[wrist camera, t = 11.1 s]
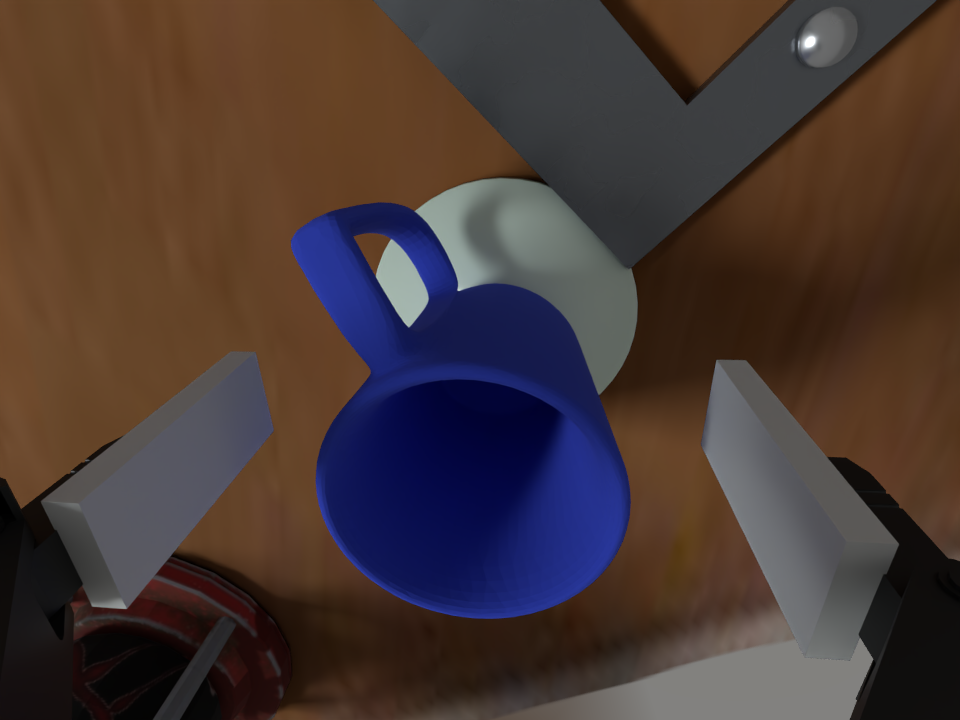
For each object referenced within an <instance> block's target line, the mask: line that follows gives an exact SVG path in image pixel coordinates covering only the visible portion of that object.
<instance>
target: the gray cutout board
mask: <svg viewBox="0 0 960 720" xmlns="http://www.w3.org/2000/svg"><path fill="white" fill-rule="evenodd" d="M373 1H374V2H375V3H376V4H377V5H378V6H379V7H380V8H381V9H382V10H383V11H384V12H385V13H386V14H387V15H388V16H389V17H390V19H391V20H392V21H393V22H394V23H395V24H396V25H397V26H398V27H399V28H400V29H401V30H402V31H403V32H404V33H405V34H406V35H407V36H408V37H409V39H410V40H411V41H412V42H413V43H414V44H415V45H416V46H417V47H418V48H419V49H420V50H421V51H422V52H423V53H424V54H425V55H426V56H427V58H428V59H429V60H430V61H431V62H432V63H433V64H434V65H435V66H436V67H437V68H438V69H439V70H440V71H441V72H442V73H443V74H444V75H445V76H446V78H447V79H448V80H449V81H450V82H451V83H452V84H453V85H454V86H455V87H456V88H457V89H458V90H459V91H460V92H461V93H462V94H463V95H464V97H465V98H466V99H467V100H468V101H469V102H470V103H471V104H472V105H473V106H474V107H475V108H476V109H477V110H478V111H479V112H480V113H481V114H482V115H483V117H484V118H485V119H486V120H487V121H488V122H489V123H490V124H491V125H492V126H493V127H494V128H495V129H496V130H497V131H498V132H499V133H500V134H501V135H502V137H503V138H504V139H505V140H506V141H507V142H508V143H509V144H510V145H511V146H512V147H513V148H514V149H515V150H516V151H517V152H518V153H519V154H520V156H521V157H522V158H523V159H524V160H525V161H526V162H527V163H528V164H529V165H530V166H531V167H532V168H533V169H534V170H535V171H536V172H537V173H538V174H539V176H540V177H541V178H542V179H543V180H544V181H545V182H546V183H547V184H548V185H549V186H550V187H551V188H552V189H553V190H554V191H555V192H556V193H557V195H558V196H559V197H560V198H561V199H562V200H563V201H564V202H565V203H566V204H567V205H568V206H569V207H570V208H571V209H572V210H573V211H574V212H575V213H576V215H577V216H578V217H579V218H580V219H581V220H582V221H583V222H584V223H585V224H586V225H587V226H588V227H589V228H590V229H591V230H592V231H593V232H594V233H595V235H596V236H597V237H598V238H599V239H600V240H601V241H602V242H603V243H604V244H605V245H606V246H607V247H608V248H609V249H610V250H611V251H612V252H613V254H614V255H615V256H616V257H617V258H618V259H619V260H620V261H621V262H622V263H623V264H624V265H625V266H626V267H627V268H628V269H630V268H631V267H632V266H634V265H635V264H636V263H637V262H638V261H639V260H640V259H641V258H643V257H644V256H645V255H646V254H647V253H648V252H649V251H651V250H652V249H653V248H654V247H655V246H656V245H658V244H659V243H660V242H661V241H662V240H663V239H664V238H666V237H667V236H668V235H669V234H670V233H671V232H672V231H674V230H675V229H676V228H677V227H678V226H679V225H680V224H682V223H683V222H684V221H685V220H686V219H687V218H688V217H690V216H691V215H692V214H693V213H694V212H695V211H696V210H698V209H699V208H700V207H701V206H702V205H703V204H704V203H706V202H707V201H708V200H709V199H710V198H711V197H712V196H714V195H715V194H716V193H717V192H718V191H719V190H720V189H722V188H723V187H724V186H725V185H726V184H727V183H728V182H730V181H731V180H732V179H733V178H734V177H735V176H736V175H738V174H739V173H740V172H741V171H742V170H743V169H744V168H746V167H747V166H748V165H749V164H750V163H751V162H752V161H754V160H755V159H756V158H757V157H758V156H759V155H760V154H762V153H763V152H764V151H765V150H766V149H767V148H768V147H770V146H771V145H772V144H773V143H774V142H775V141H776V140H778V139H779V138H780V137H781V136H782V135H783V134H784V133H786V132H787V131H788V130H789V129H790V128H791V127H792V126H794V125H795V124H796V123H797V122H798V121H799V120H800V119H802V118H803V117H804V116H805V115H806V114H807V113H808V112H810V111H811V110H812V109H813V108H814V107H815V106H816V105H818V104H819V103H820V102H821V101H822V100H823V99H824V98H826V97H827V96H828V95H829V94H830V93H831V92H832V91H834V90H835V89H836V88H837V87H838V86H839V85H840V84H842V83H843V82H844V81H845V80H846V79H847V78H848V77H850V76H851V75H852V74H853V73H854V72H855V71H856V70H858V69H859V68H860V67H861V66H862V65H863V64H864V63H866V62H867V61H868V60H869V59H870V58H871V57H872V56H874V55H875V54H876V53H877V52H878V51H879V50H880V49H882V48H883V47H884V46H885V45H886V44H887V43H888V42H890V41H891V40H892V39H893V38H894V37H895V36H896V35H898V34H899V33H900V32H901V31H902V30H903V29H904V28H906V27H907V26H908V25H909V24H910V23H911V22H912V21H914V20H915V19H916V18H917V17H918V16H919V15H920V14H922V13H923V12H924V11H925V10H926V9H927V8H928V7H930V6H931V5H932V4H933V3H934V2H935V1H936V0H788V1H787V2H786V3H785V4H784V5H783V6H782V7H781V8H780V9H779V10H778V11H777V12H776V13H775V14H774V15H773V16H772V17H771V18H770V19H769V20H768V21H767V22H766V23H765V24H764V25H763V26H762V27H761V28H760V29H759V30H758V31H757V32H756V33H755V34H754V35H753V36H751V37H750V38H749V39H748V40H747V41H746V42H745V43H744V44H743V45H742V46H741V47H740V48H739V49H738V50H737V51H736V52H735V53H734V54H733V55H732V56H731V57H730V58H729V59H728V60H727V61H726V62H725V63H724V64H723V65H722V66H721V67H720V68H719V69H718V70H717V71H716V72H715V73H714V74H713V75H712V76H711V77H710V78H709V79H707V80H706V81H705V82H704V83H703V84H702V85H701V86H700V87H699V88H698V89H697V90H696V91H695V92H694V93H693V94H692V95H691V96H690V97H689V98H688V99H687V100H686V101H685V102H684V101H683V100H682V99H681V98H680V96H679V95H678V94H677V93H676V92H675V90H674V89H673V88H672V87H671V86H670V84H669V83H668V82H667V81H666V80H665V78H664V77H663V76H662V75H661V74H660V72H659V71H658V70H657V69H656V68H655V66H654V65H653V64H652V63H651V62H650V60H649V59H648V58H647V57H646V56H645V54H644V53H643V52H642V51H641V50H640V48H639V47H638V46H637V45H636V44H635V42H634V41H633V40H632V39H631V38H630V36H629V35H628V34H627V33H626V32H625V30H624V29H623V28H622V27H621V26H620V24H619V23H618V22H617V21H616V20H615V18H614V17H613V16H612V15H611V13H610V12H609V11H608V10H607V9H606V7H605V6H604V5H603V4H602V3H601V1H600V0H373Z"/></svg>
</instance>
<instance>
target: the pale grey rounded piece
mask: <svg viewBox="0 0 960 720" xmlns="http://www.w3.org/2000/svg"><path fill="white" fill-rule="evenodd" d="M415 212H416V213H417V214H418V215H420V216H421V217H422V218H423V219H424V220H425V221H426V222H427V223H428V225H429V226H430V227H431V229H432V230H433V231H434V233H435V234H436V236H437V237H438V239H439V240H440V242H441V244H442V246H443V247H444V249H445V251H446V253H447V255H448V257H449V259H450V261H451V263H452V266H453V268H454V271H455V273H456V276H457V280H458V291H460V290H463V289H466V288H469V287H473V286H478V285H483V284H493V283H499V284H509V285H514V286H518V287H522V288H524V289H527V290H530V291H532V292H534V293H536V294H538V295H540V296H541V297H543V298H544V299H546V300H547V301H549V302H550V303H551V304H552V305H554V306H555V307H556V308H557V309H558V310H559V311H560V312H561V313H562V314H563V316H564V317H565V318H566V319H567V321H568V322H569V324H570V325H571V327H572V329H573V330H574V332H575V334H576V337H577V339H578V341H579V344H580V346H581V349H582V352H583V354H584V357H585V360H586V363H587V365H588V368H589V371H590V373H591V376H592V379H593V381H594V384H595V387H596V390H597V392H598V395H600V394H601V393H602V392H603V391H604V390H605V388H606V387H607V386H608V385H609V384H610V383H611V382H612V380H613V379H614V378H615V376H616V375H617V373H618V372H619V370H620V369H621V367H622V365H623V363H624V361H625V359H626V357H627V355H628V353H629V351H630V347H631V344H632V341H633V338H634V334H635V329H636V323H637V309H638V301H637V292H636V284H635V281H634V277H633V273H632V269H631V268H630V269H628V268H627V267H626V266H625V265H624V264H623V263H622V262H621V261H620V260H619V259H618V258H617V257H616V256H615V255H614V254H613V252H612V251H611V250H610V249H609V248H608V247H607V246H606V245H605V244H604V243H603V242H602V241H601V240H600V239H599V238H598V237H597V236H596V235H595V233H594V232H593V231H592V230H591V229H590V228H589V227H588V226H587V225H586V224H585V223H584V222H583V221H582V220H581V219H580V218H579V217H578V216H577V215H576V213H575V212H574V211H573V210H572V209H571V208H570V207H569V206H568V205H567V204H566V203H565V202H564V201H563V200H562V199H561V198H560V197H559V196H558V195H557V193H556V192H555V191H554V190H553V189H552V188H551V187H550V186H549V185H548V184H545V183H542V182H539V181H534V180H529V179H524V178H513V177H495V178H483V179H479V180H475V181H470V182H466V183H463V184H461V185H458V186H455V187H453V188H450V189H448V190H446V191H444V192H442V193H441V194H439V195H437V196H435V197H433V198H432V199H431V200H429V201H428V202H427V203H425V204H424V205H423V206H421V207H420V208H419V209H417V210H416V211H415ZM376 278H377V280H378V282H379V283H380V285H381V287H382V288H383V290H384V292H385V293H386V295H387V297H388V298H389V300H390V302H391V303H392V305H393V307H394V308H395V310H396V312H397V313H398V314H399V316H400V317H401V319H402V320H403V322H404V323H405V324H406V325H407V326H408V327H410V326H411V325H412V324H413V323H414V321H415V320H416V319H417V317H418V316H419V315H420V314H421V312H422V311H423V310H424V308H425V307H426V305H427V303H428V300H429V298H428V293H427V290H426V287H425V285H424V283H423V281H422V279H421V277H420V275H419V273H418V271H417V269H416V268H415V266H414V264H413V263H412V261H411V260H410V258H409V257H408V255H407V254H406V253H405V252H404V250H403V249H402V248H401V247H400V246H399V245H398V244H397V243H396V242H395V241H394V240H392V239H391V240H390V242H389V244H388V246H387V247H386V249H385V251H384V253H383V256H382V258H381V261H380V264H379V266H378V270H377V274H376Z"/></svg>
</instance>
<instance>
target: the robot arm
mask: <svg viewBox="0 0 960 720" xmlns="http://www.w3.org/2000/svg"><path fill="white" fill-rule="evenodd" d="M273 431H274V429H273V425H272V421H271V416H270V412H269V408H268V404H267V399H266V395H265V391H264V386H263V382H262V378H261V374H260V369H259V365H258V361H257V356H256V352H230V353H229V354H227V355H226V356H225V357H223V358H222V359H221V360H220V361H218V362H217V363H216V364H215V365H213V366H212V367H211V368H210V369H208V370H207V371H206V372H204V373H203V374H202V375H201V376H199V377H198V378H197V379H196V380H194V381H193V382H192V383H190V384H189V385H188V386H187V387H185V388H184V389H183V390H182V391H180V392H179V393H178V394H176V395H175V396H174V397H173V398H171V399H170V400H169V401H168V402H166V403H165V404H164V405H163V406H161V407H160V408H159V409H157V410H156V411H155V412H154V413H152V414H151V415H150V416H149V417H147V418H146V419H145V420H143V421H142V422H141V423H140V424H138V425H137V426H136V427H135V428H133V429H132V430H131V431H129V432H128V433H127V434H126V435H124V436H122V437H120V438H118V439H116V440H114V441H112V442H110V443H108V444H106V445H104V446H102V447H101V448H100V449H98V450H97V451H96V452H95V453H93V454H92V455H91V456H89V457H88V458H87V459H86V460H85V463H80V464H79V465H78V466H76V467H75V468H74V469H73V470H71V473H70V474H66V475H65V476H64V477H62V478H61V479H60V480H58V481H57V482H56V483H54V484H53V485H52V486H51V487H49V488H48V489H47V490H45V491H44V492H43V493H41V494H40V495H39V496H38V497H36V498H35V499H34V500H32V501H31V502H30V503H29V504H27V505H26V506H25V507H23V508H22V509H21V508H20V506H19V504H18V502H17V501H16V499H15V497H14V495H13V493H12V491H11V489H10V487H9V485H8V483H7V481H6V479H3V478H1V477H0V720H72V683H73V640H74V612H73V609H72V607H71V605H70V603H69V601H68V600H69V599H70V598H71V597H72V596H73V595H74V594H75V593H76V592H77V591H78V589H79V588H80V587H81V586H83V588H84V590H85V592H86V595H87V597H88V599H89V601H90V603H91V605H92V607H105V608H119V609H127V608H128V607H129V606H130V605H131V603H132V602H133V601H134V600H135V599H136V597H137V596H138V595H139V594H140V592H141V591H142V590H143V589H144V588H145V586H146V585H147V584H148V583H149V582H150V580H151V579H152V578H153V577H154V575H155V574H156V573H157V572H158V571H159V569H160V568H161V567H162V566H163V565H164V563H165V562H166V561H167V560H168V558H169V557H170V556H171V555H172V554H173V552H174V551H175V550H176V549H177V548H178V546H179V545H180V544H181V543H182V541H183V540H184V539H185V538H186V537H187V535H188V534H189V533H190V532H191V531H192V529H193V528H194V527H195V526H196V524H197V523H198V522H199V521H200V520H201V518H202V517H203V516H204V515H205V514H206V512H207V511H208V510H209V509H210V507H211V506H212V505H213V504H214V503H215V501H216V500H217V499H218V498H219V497H220V495H221V494H222V493H223V492H224V490H225V489H226V488H227V487H228V486H229V484H230V483H231V482H232V481H233V480H234V478H235V477H236V476H237V475H238V473H239V472H240V471H241V470H242V469H243V467H244V466H245V465H246V464H247V463H248V461H249V460H250V459H251V458H252V457H253V455H254V454H255V453H256V452H257V450H258V449H259V448H260V447H261V446H262V444H263V443H264V442H265V441H266V440H267V438H268V437H269V436H270V435H271V433H272V432H273ZM701 446H702V448H703V450H704V452H705V454H706V456H707V458H708V460H709V462H710V464H711V466H712V469H713V471H714V473H715V475H716V477H717V479H718V481H719V483H720V485H721V487H722V489H723V491H724V493H725V495H726V497H727V499H728V501H729V503H730V505H731V508H732V510H733V512H734V514H735V516H736V518H737V520H738V522H739V524H740V526H741V528H742V530H743V532H744V534H745V536H746V538H747V540H748V542H749V544H750V547H751V549H752V551H753V553H754V555H755V557H756V559H757V561H758V563H759V565H760V567H761V569H762V571H763V573H764V575H765V577H766V579H767V581H768V584H769V586H770V588H771V590H772V592H773V594H774V596H775V598H776V600H777V602H778V604H779V606H780V608H781V610H782V612H783V614H784V616H785V618H786V620H787V623H788V625H789V627H790V629H791V631H792V633H793V635H794V637H795V639H796V641H797V643H798V645H799V647H800V649H801V651H802V653H803V655H804V657H805V658H820V659H833V660H848V661H850V660H851V657H852V655H853V653H854V650H855V648H856V645H857V643H858V640H859V638H861V639H862V641H863V643H864V645H865V646H866V647H867V649H868V651H869V653H870V654H871V656H872V657H873V661H872V664H871V666H870V668H869V670H868V673H867V675H866V677H865V679H864V682H863V684H862V686H861V688H860V691H859V693H858V695H857V697H856V700H857V702H856V705H855V707H854V710H853V713H852V715H851V718H850V720H960V561H957V560H954V559H948V558H947V557H946V556H945V555H944V553H943V552H942V551H941V550H940V549H939V548H938V547H937V546H936V545H935V544H934V543H933V541H932V540H931V539H930V538H929V537H928V536H927V535H926V534H925V533H924V532H923V530H922V529H921V528H920V527H919V526H918V525H917V524H916V523H915V522H914V521H913V520H912V518H911V517H910V516H909V515H908V514H907V513H906V512H905V511H904V510H903V509H901V508H899V504H898V503H897V502H896V501H895V500H894V499H893V498H892V497H891V496H890V494H886V490H885V489H884V488H883V487H882V486H881V485H880V483H879V482H878V481H877V480H876V479H875V478H874V477H873V476H872V475H871V474H870V473H869V472H868V471H866V470H864V469H863V468H861V467H860V466H858V465H857V464H855V463H854V462H852V461H850V460H849V459H847V458H840V457H826V456H825V454H824V453H823V452H822V451H821V450H820V448H819V447H818V446H817V445H816V444H815V442H814V441H813V440H812V439H811V438H810V436H809V435H808V434H807V433H806V432H805V430H804V429H803V428H802V427H801V426H800V424H799V423H798V422H797V421H796V420H795V418H794V417H793V416H792V415H791V414H790V412H789V411H788V410H787V409H786V408H785V406H784V405H783V404H782V403H781V402H780V400H779V399H778V398H777V397H776V396H775V394H774V393H773V392H772V391H771V390H770V388H769V387H768V386H767V385H766V384H765V382H764V381H763V380H762V379H761V378H760V376H759V375H758V374H757V373H756V372H755V370H754V369H753V368H752V367H751V366H750V364H749V363H748V362H747V361H746V360H716V365H715V371H714V376H713V381H712V387H711V392H710V398H709V403H708V409H707V414H706V419H705V425H704V430H703V436H702V441H701Z"/></svg>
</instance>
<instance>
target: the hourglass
mask: <svg viewBox="0 0 960 720" xmlns="http://www.w3.org/2000/svg"><path fill="white" fill-rule="evenodd" d="M68 601H69V603H70V605H71V607H72V609H73V612H74V640H73V683H72V720H271V719H272V718H273V717H274V716H275V714H276V711H277V709H278V707H279V705H280V702H281V700H282V698H283V696H284V693H285V691H286V689H287V687H288V684H289V682H290V680H291V677H292V668H291V657H290V650H289V648H288V646H287V644H286V642H285V640H284V638H283V637H282V635H281V633H280V631H279V629H278V627H277V625H276V623H275V622H274V621H273V620H272V619H271V617H270V616H269V615H268V614H267V613H266V612H265V611H264V610H263V609H262V608H261V607H260V606H259V605H258V604H257V603H256V602H255V601H254V600H253V599H252V598H251V597H250V596H249V595H248V594H246V593H245V592H243V591H241V590H240V589H238V588H237V587H235V586H234V585H232V584H231V583H229V582H228V581H226V580H224V579H223V578H221V577H220V576H218V575H217V574H215V573H213V572H211V571H208V570H206V569H203V568H200V567H198V566H195V565H193V564H190V563H188V562H185V561H182V560H180V559H177V558H175V557H169V558H168V560H167V561H166V562H165V563H164V565H163V566H162V567H161V568H160V569H159V571H158V572H157V573H156V574H155V575H154V577H153V578H152V579H151V580H150V582H149V583H148V584H147V585H146V586H145V588H144V589H143V590H142V591H141V592H140V594H139V595H138V596H137V597H136V599H135V600H134V601H133V602H132V603H131V605H130V606H129V607H128V608H127V609H119V608H105V607H92V605H91V603H90V601H89V599H88V597H87V595H86V592H85V590H84V588H83V586H81V587H80V588H79V589H78V591H77V592H76V593H75V594H74V595H73V596H72V597H71V598H70V599H69V600H68Z"/></svg>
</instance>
